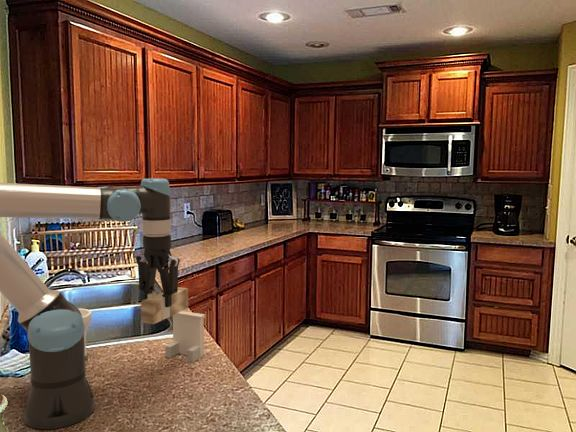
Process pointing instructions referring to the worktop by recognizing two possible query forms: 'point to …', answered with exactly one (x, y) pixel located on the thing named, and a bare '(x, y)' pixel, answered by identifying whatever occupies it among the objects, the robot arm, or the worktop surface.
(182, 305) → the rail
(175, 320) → the headboard
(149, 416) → the worktop surface
